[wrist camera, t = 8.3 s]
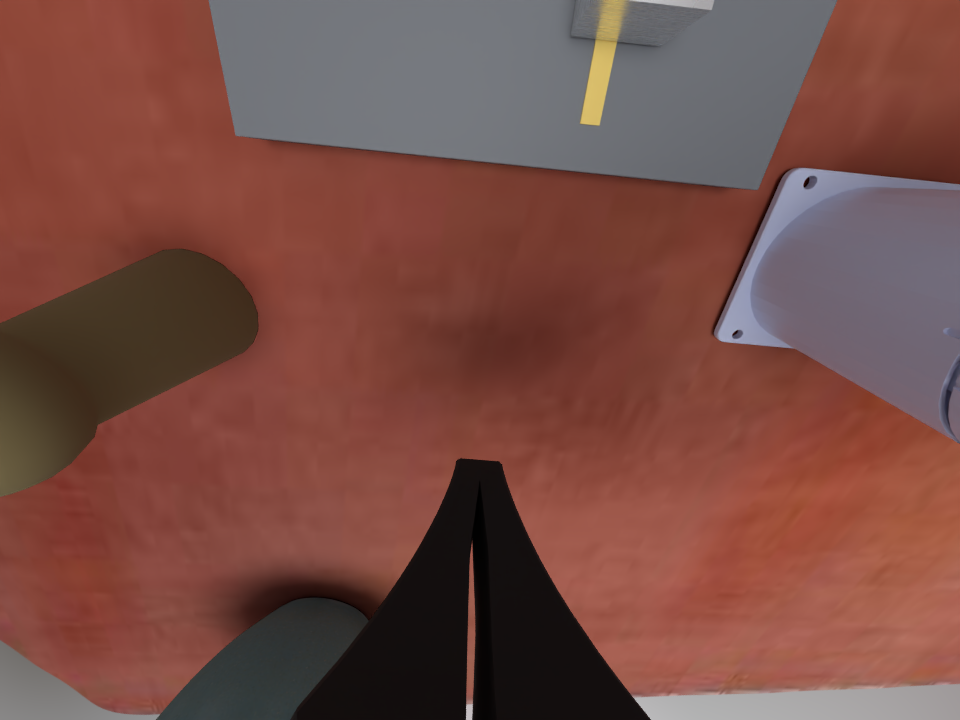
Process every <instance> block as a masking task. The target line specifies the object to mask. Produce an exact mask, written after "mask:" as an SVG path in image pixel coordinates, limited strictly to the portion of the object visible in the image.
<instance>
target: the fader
mask: <svg viewBox="0 0 960 720" xmlns="http://www.w3.org/2000/svg"><path fill="white" fill-rule="evenodd" d="M713 3H714V0H576V4H575V10H574V16H573V22H572V28H571V34H570V36H572V37H581V38H590V39H598V40H607V41H616V42H624V43H633V44H642V45H651V46H659V47H661V46H662V45H663V44H665V43H666V42H668V41H669V40H670V39H672V38H673V37H675V36H676V35H677V34H679V33H680V32H682V31H683V30H684V29H686V28H687V27H689V26H690V25H691V24H693V23H694V22H696V21H697V20H698V19H700V18H701V17H703V16H704V15H705V14H707V13H708V12H709V11H711V10H712V7H713Z"/></svg>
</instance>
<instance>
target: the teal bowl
mask: <svg viewBox="0 0 960 720" xmlns="http://www.w3.org/2000/svg"><path fill="white" fill-rule="evenodd" d="M367 623H368V619H367V618H366V617H365V616H364V615H363V614H362V613H361V612H360V611H359V610H357V609H356V608H354V607H352V606H350V605H348V604H345V603H343V602H340V601H336V600H332V599H325V598H303V599H297V600H294V601H291V602H289V603H287V604H285V605H283V606H281V607H280V608H278V609H277V610H275V611H273V612H272V613H270V614H269V615H267V616H266V617H264V618H263V619H261V620H260V621H258V622H257V623H256V624H254V625H253V626H251V627H250V628H249V629H247V630H246V631H245V632H243V633H242V634H241V635H239V636H238V637H237V638H236V639H234V640H233V641H232V642H231V643H229V644H228V645H227V646H226V647H225V648H224V649H222V650H221V651H220V652H219V653H218V654H217V655H216V656H215V657H214V658H213V659H212V660H211V661H209V662H208V663H207V664H206V665H205V666H204V667H203V668H202V669H201V670H200V671H199V672H198V673H197V674H196V675H195V676H194V677H193V678H192V680H191V681H190V682H189V683H188V684H187V685H186V686H185V687H184V688H183V689H182V690H181V691H180V693H179V694H178V695H177V696H176V697H175V698H174V699H173V700H172V701H171V703H170V704H169V705H168V706H167V707H166V708H165V710H164V711H163V712H162V713H161V714H160V716H159V717H158V718H157V719H156V720H290V719H291V717H292V716H293V714H294V712H295V711H296V709H297V707H298V706H299V705H300V704H301V702H302V701H303V700H304V699H305V698H306V697H307V695H308V694H309V693H310V692H311V691H312V690H313V688H314V687H315V686H316V685H317V684H318V683H319V682H320V680H321V679H322V678H323V677H324V676H325V675H326V673H327V672H328V671H329V670H330V669H331V668H332V666H333V665H334V664H335V663H336V662H337V661H338V659H339V658H340V657H341V656H342V655H343V653H344V652H345V651H346V650H347V648H348V647H349V646H350V644H351V643H352V642H353V641H354V639H355V638H356V637H357V636H358V634H359V633H360V632H361V630H362V629H363V628H364V627H365V625H366V624H367Z"/></svg>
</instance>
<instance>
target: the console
mask: <svg viewBox="0 0 960 720" xmlns="http://www.w3.org/2000/svg"><path fill="white" fill-rule="evenodd" d="M836 2H837V0H714V3H713V7H712V10H711V11H709V12H708V13H707V14H705V15H704V16H703V17H701V18H700V19H698V20H697V21H696V22H694V23H693V24H691V25H690V26H689V27H687V28H686V29H684V30H683V31H682V32H680V33H679V34H677V35H676V36H675V37H673V38H672V39H670V40H669V41H668V42H666V43H665V44H663V45H662V46H661V47H659V46H651V45H642V44H633V43H624V42H616V41H607V40H598V39H590V38H581V37H572V36H570V34H571V28H572V22H573V16H574V10H575V4H576V0H209V5H210V10H211V15H212V20H213V25H214V30H215V35H216V40H217V45H218V50H219V54H220V59H221V64H222V69H223V74H224V79H225V84H226V89H227V94H228V99H229V104H230V109H231V114H232V119H233V124H234V129H235V134H236V136H242V137H249V138H256V139H263V140H272V141H282V142H291V143H301V144H311V145H320V146H330V147H339V148H349V149H359V150H368V151H378V152H388V153H397V154H407V155H416V156H426V157H436V158H445V159H455V160H464V161H474V162H484V163H493V164H503V165H512V166H522V167H532V168H541V169H551V170H560V171H570V172H580V173H589V174H599V175H608V176H618V177H628V178H637V179H647V180H656V181H666V182H676V183H685V184H695V185H704V186H714V187H724V188H736V189H750V190H758V188H759V186H760V183H761V181H762V179H763V176H764V174H765V171H766V169H767V167H768V164H769V162H770V160H771V157H772V155H773V152H774V150H775V148H776V145H777V143H778V140H779V138H780V136H781V133H782V131H783V128H784V126H785V124H786V121H787V119H788V117H789V114H790V112H791V109H792V107H793V105H794V102H795V100H796V97H797V95H798V93H799V90H800V88H801V86H802V83H803V81H804V78H805V76H806V74H807V71H808V69H809V66H810V64H811V62H812V59H813V57H814V54H815V52H816V50H817V47H818V45H819V43H820V40H821V38H822V35H823V33H824V31H825V28H826V26H827V23H828V21H829V19H830V16H831V14H832V11H833V9H834V7H835V4H836Z"/></svg>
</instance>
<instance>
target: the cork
mask: <svg viewBox="0 0 960 720" xmlns="http://www.w3.org/2000/svg"><path fill="white" fill-rule="evenodd" d="M257 331H258V313H257V310H256V308H255V305H254V302H253V300H252V297H251V295H250V294H249V292H248V291H247V290H246V288H245V287H244V286H243V284H242V283H241V281H240V280H239V279H238V278H237V277H236V276H235V275H234V274H232V273H231V272H230V271H229V270H228V269H227V268H226V267H224V266H223V265H222V264H220V263H218V262H217V261H215V260H213V259H211V258H209V257H207V256H205V255H204V254H201V253H197V252H193V251H189V250H185V249H172V250H162V251H160V252H158V253H156V254H154V255H151V256H149V257H147V258H145V259H142V260H140V261H138V262H136V263H134V264H131V265H129V266H127V267H125V268H122V269H120V270H118V271H116V272H114V273H111V274H109V275H107V276H105V277H102V278H100V279H98V280H96V281H94V282H91V283H89V284H87V285H85V286H82V287H80V288H78V289H76V290H73V291H71V292H69V293H67V294H65V295H62V296H60V297H58V298H56V299H53V300H51V301H49V302H47V303H45V304H42V305H40V306H38V307H36V308H33V309H31V310H29V311H27V312H25V313H22V314H20V315H18V316H16V317H13V318H11V319H9V320H7V321H5V322H2V323H0V497H1V496H5V495H9V494H13V493H15V492H18V491H21V490H24V489H27V488H29V487H31V486H33V485H36V484H38V483H40V482H42V481H44V480H46V479H49V478H51V477H53V476H54V475H55V474H57V473H58V472H60V471H61V470H62V469H64V468H65V467H67V466H68V465H69V464H71V463H72V462H73V461H74V459H75V458H76V457H77V456H78V455H79V454H80V453H81V452H82V450H83V449H84V448H85V447H86V446H87V445H88V444H89V443H90V441H91V440H92V439H93V438H94V437H95V433H96V429H97V425H98V424H100V423H102V422H104V421H106V420H108V419H110V418H112V417H114V416H116V415H118V414H120V413H122V412H124V411H126V410H129V409H131V408H133V407H135V406H137V405H139V404H141V403H143V402H145V401H147V400H149V399H151V398H153V397H155V396H157V395H159V394H161V393H163V392H165V391H167V390H169V389H171V388H173V387H175V386H177V385H179V384H181V383H183V382H185V381H187V380H189V379H191V378H193V377H195V376H197V375H199V374H201V373H203V372H205V371H207V370H209V369H211V368H213V367H215V366H217V365H219V364H221V363H223V362H225V361H227V360H229V359H231V358H233V357H235V356H237V355H239V354H241V353H243V352H244V351H245V350H246V349H247V348H248V347H249V346H250V345H251V344H252V343H253V342H254V340H255V337H256V334H257Z"/></svg>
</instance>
